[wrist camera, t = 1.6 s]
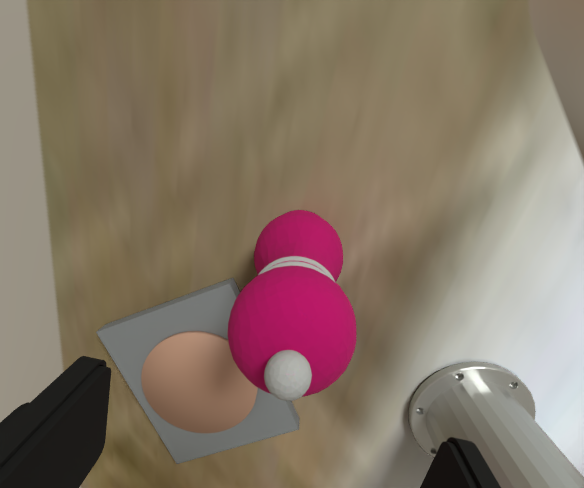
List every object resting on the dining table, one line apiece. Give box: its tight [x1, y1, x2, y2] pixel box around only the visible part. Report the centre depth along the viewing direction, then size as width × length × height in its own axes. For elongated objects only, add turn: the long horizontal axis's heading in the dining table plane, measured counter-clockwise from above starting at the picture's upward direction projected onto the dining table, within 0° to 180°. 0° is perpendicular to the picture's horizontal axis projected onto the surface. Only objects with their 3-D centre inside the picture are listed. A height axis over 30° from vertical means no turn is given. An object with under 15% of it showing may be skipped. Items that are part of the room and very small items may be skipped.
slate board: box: [96, 278, 299, 464], centre depth 34 cm, size 18×15×2 cm
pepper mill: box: [227, 210, 356, 401], centre depth 21 cm, size 7×7×20 cm
